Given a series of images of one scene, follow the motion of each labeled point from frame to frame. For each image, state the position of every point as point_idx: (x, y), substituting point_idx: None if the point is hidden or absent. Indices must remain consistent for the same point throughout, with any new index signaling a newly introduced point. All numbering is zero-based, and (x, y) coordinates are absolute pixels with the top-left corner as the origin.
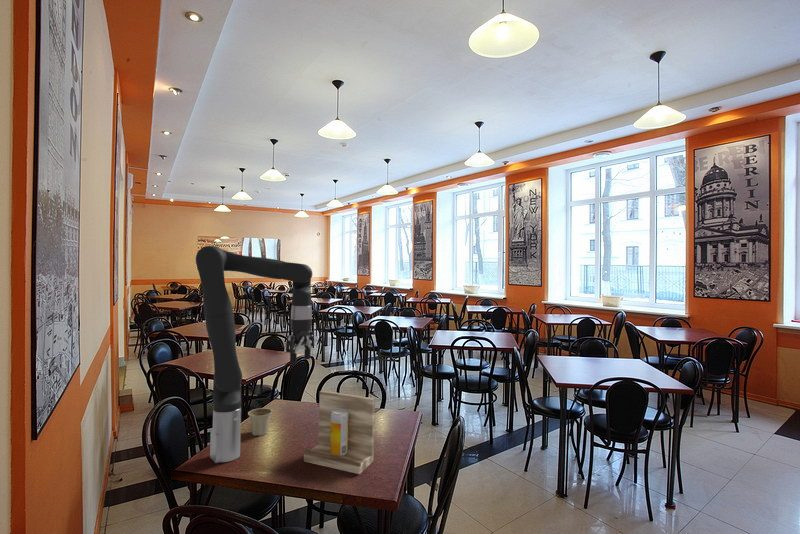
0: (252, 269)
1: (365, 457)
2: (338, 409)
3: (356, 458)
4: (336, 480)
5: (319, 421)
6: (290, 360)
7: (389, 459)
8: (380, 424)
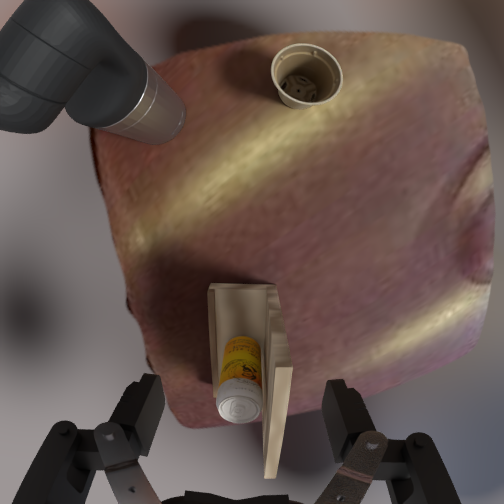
0: None
1: None
2: (253, 401)
3: None
4: (181, 364)
5: (269, 316)
6: (126, 392)
7: None
8: (426, 326)
